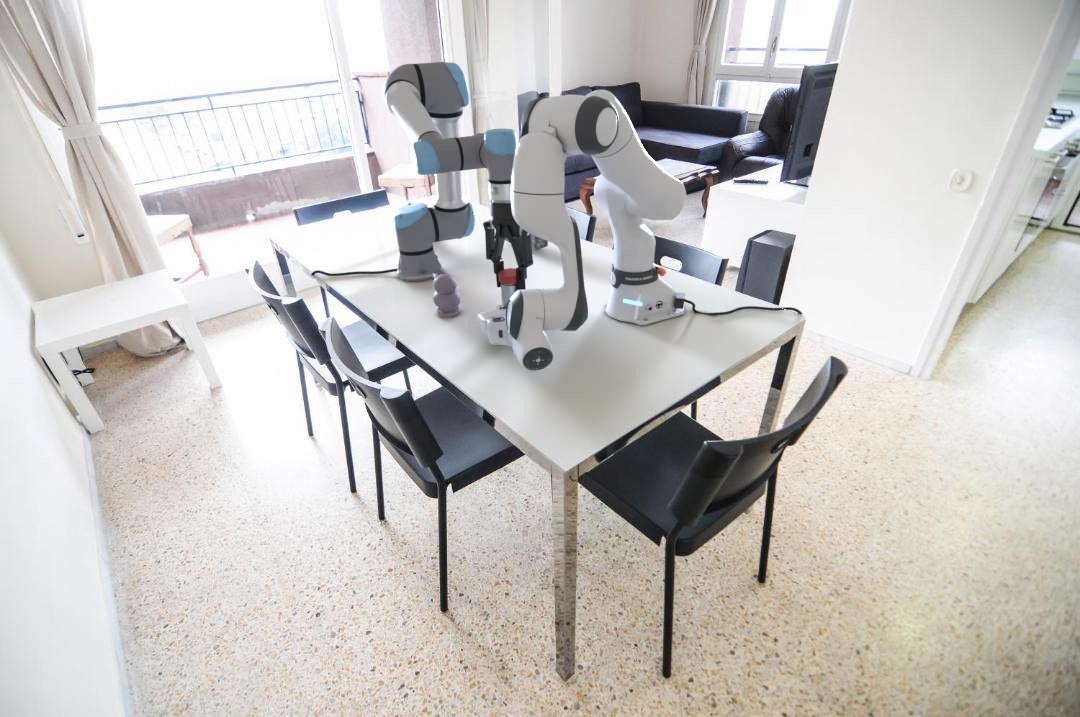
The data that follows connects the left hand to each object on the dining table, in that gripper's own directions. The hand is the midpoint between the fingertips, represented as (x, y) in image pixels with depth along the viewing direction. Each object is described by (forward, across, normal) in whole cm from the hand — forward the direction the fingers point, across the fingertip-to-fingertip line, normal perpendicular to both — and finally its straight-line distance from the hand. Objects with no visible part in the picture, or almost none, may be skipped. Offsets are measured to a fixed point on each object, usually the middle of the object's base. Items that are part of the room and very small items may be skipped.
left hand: (511, 287), depth 132 cm
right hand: (+6, -1, +1) cm, 6 cm away
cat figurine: (+12, -23, -2) cm, 26 cm away
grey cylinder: (+12, 0, 0) cm, 12 cm away
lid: (-4, 0, 0) cm, 4 cm away
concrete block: (+12, -37, +57) cm, 69 cm away
